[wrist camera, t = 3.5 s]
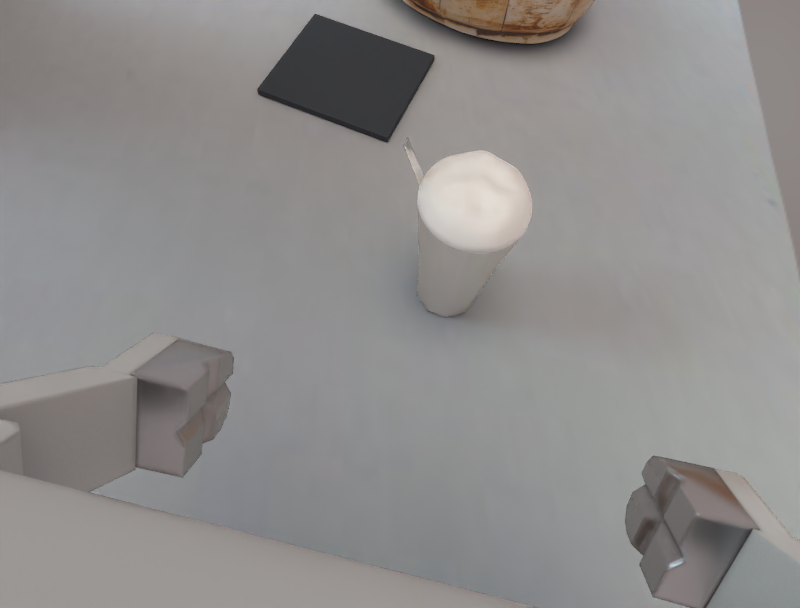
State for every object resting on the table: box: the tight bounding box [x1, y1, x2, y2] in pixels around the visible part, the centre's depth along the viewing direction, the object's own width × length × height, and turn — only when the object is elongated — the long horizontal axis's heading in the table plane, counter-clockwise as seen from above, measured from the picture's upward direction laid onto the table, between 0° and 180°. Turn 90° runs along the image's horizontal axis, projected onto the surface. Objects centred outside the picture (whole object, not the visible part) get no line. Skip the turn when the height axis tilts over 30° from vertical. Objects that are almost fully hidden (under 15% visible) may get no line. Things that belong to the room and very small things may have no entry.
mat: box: [257, 14, 434, 142], centre depth 33 cm, size 9×8×1 cm
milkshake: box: [404, 138, 532, 317], centre depth 22 cm, size 4×5×10 cm
